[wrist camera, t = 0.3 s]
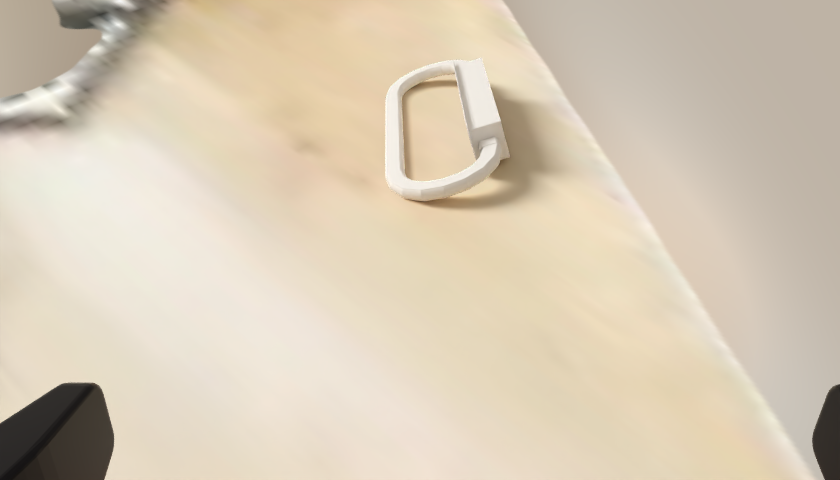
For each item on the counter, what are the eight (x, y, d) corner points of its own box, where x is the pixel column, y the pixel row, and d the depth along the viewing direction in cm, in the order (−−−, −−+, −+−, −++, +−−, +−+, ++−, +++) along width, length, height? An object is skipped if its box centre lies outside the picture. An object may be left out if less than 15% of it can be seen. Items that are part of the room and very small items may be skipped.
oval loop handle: (393, 101, 60) (378, 61, 58) (485, 74, 59) (473, 31, 57) (395, 234, 44) (375, 184, 41) (522, 199, 42) (508, 146, 40)
